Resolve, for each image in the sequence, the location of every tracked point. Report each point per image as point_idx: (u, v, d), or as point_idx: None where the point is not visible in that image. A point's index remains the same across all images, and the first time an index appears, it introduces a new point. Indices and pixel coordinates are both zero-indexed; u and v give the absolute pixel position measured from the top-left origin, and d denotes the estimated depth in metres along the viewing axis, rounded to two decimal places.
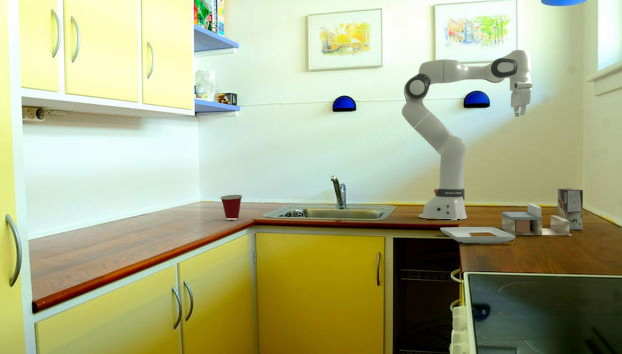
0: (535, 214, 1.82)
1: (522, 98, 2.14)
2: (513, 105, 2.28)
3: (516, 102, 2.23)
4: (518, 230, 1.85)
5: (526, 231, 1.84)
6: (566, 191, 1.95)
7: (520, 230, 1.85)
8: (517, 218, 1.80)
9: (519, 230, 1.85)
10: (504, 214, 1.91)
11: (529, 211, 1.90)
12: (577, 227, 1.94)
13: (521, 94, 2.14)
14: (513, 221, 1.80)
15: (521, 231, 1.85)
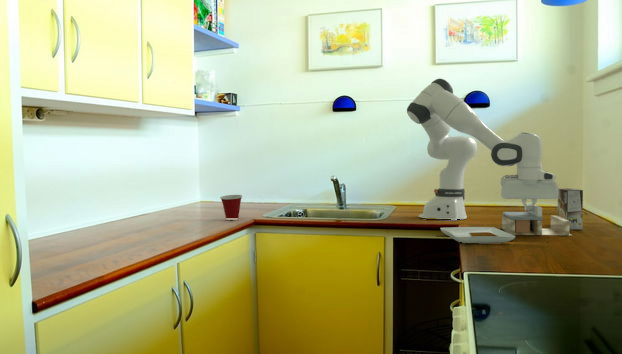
0: (536, 214, 1.82)
1: None
2: (519, 197, 1.84)
3: (534, 195, 1.83)
4: (518, 230, 1.85)
5: (526, 231, 1.84)
6: (566, 191, 1.95)
7: (520, 230, 1.85)
8: (518, 218, 1.80)
9: (519, 230, 1.85)
10: (505, 214, 1.91)
11: (530, 211, 1.90)
12: (577, 227, 1.94)
13: (557, 187, 1.82)
14: (513, 221, 1.80)
15: (521, 231, 1.85)
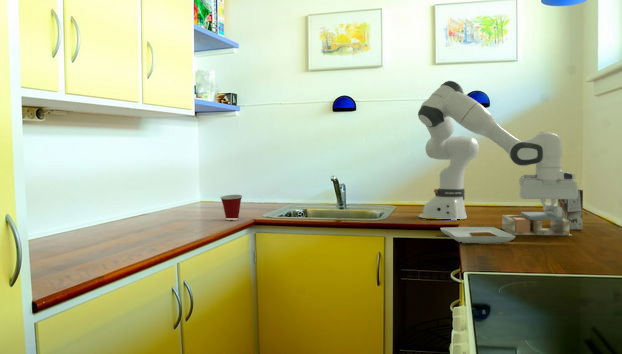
0: (555, 214, 1.81)
1: None
2: (538, 197, 1.83)
3: (553, 195, 1.82)
4: (518, 230, 1.85)
5: (526, 231, 1.84)
6: None
7: (520, 230, 1.85)
8: (537, 218, 1.79)
9: (519, 230, 1.85)
10: (523, 214, 1.89)
11: (548, 211, 1.88)
12: (577, 227, 1.94)
13: None
14: (513, 221, 1.80)
15: (521, 231, 1.85)
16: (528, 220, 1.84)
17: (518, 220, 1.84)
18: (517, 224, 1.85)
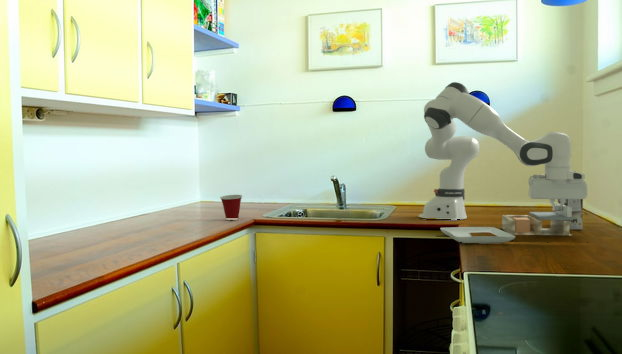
0: (565, 214, 1.80)
1: None
2: (547, 197, 1.83)
3: (562, 195, 1.82)
4: (518, 230, 1.85)
5: (526, 231, 1.84)
6: None
7: (520, 230, 1.85)
8: (547, 218, 1.78)
9: (519, 230, 1.85)
10: (532, 214, 1.89)
11: (558, 211, 1.88)
12: (577, 227, 1.94)
13: (586, 187, 1.80)
14: (513, 221, 1.80)
15: (521, 231, 1.85)
16: (528, 220, 1.84)
17: (518, 220, 1.84)
18: (517, 224, 1.85)
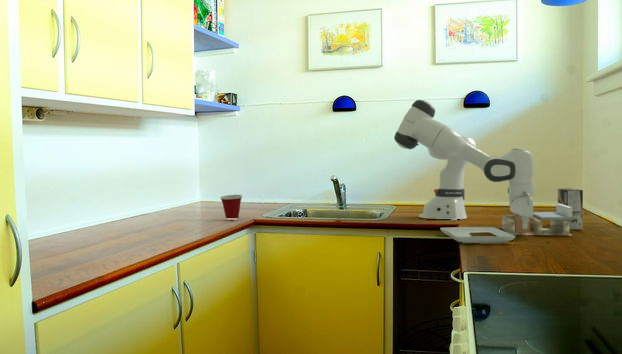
0: (566, 214, 1.80)
1: None
2: None
3: None
4: (518, 230, 1.85)
5: (526, 231, 1.84)
6: (566, 191, 1.95)
7: (520, 230, 1.85)
8: (548, 218, 1.78)
9: (519, 230, 1.85)
10: (533, 214, 1.89)
11: (558, 211, 1.88)
12: (577, 227, 1.94)
13: None
14: (513, 221, 1.80)
15: (521, 231, 1.85)
16: None
17: (518, 220, 1.84)
18: (517, 224, 1.85)
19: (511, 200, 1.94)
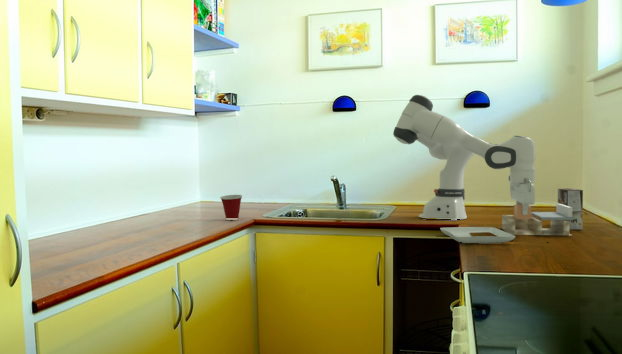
0: (566, 214, 1.80)
1: None
2: None
3: None
4: (520, 217, 1.85)
5: (527, 218, 1.84)
6: (566, 191, 1.95)
7: (521, 217, 1.84)
8: (548, 218, 1.78)
9: (520, 217, 1.84)
10: (533, 214, 1.89)
11: (558, 211, 1.88)
12: (577, 227, 1.94)
13: None
14: (513, 221, 1.80)
15: (522, 218, 1.84)
16: (529, 206, 1.84)
17: (519, 207, 1.84)
18: (518, 211, 1.84)
19: (512, 187, 1.94)
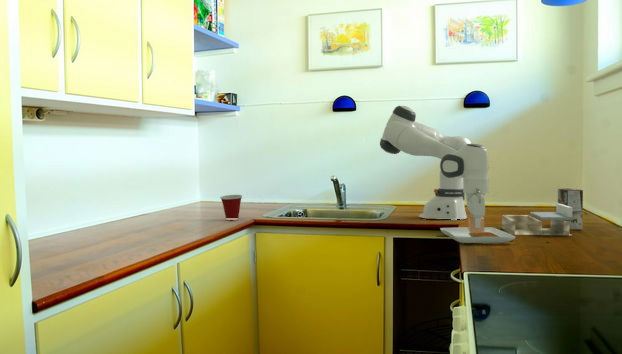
0: (566, 214, 1.80)
1: None
2: None
3: None
4: (472, 230, 1.76)
5: (480, 231, 1.75)
6: (566, 191, 1.95)
7: (474, 230, 1.76)
8: (548, 218, 1.78)
9: (473, 230, 1.76)
10: (533, 214, 1.89)
11: (558, 211, 1.88)
12: (577, 227, 1.94)
13: None
14: (513, 221, 1.80)
15: (475, 231, 1.76)
16: (482, 219, 1.75)
17: (472, 219, 1.76)
18: (471, 224, 1.76)
19: (468, 198, 1.85)
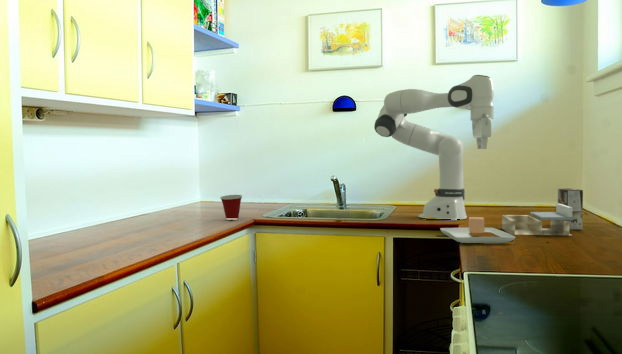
0: (566, 214, 1.80)
1: None
2: None
3: None
4: (472, 230, 1.76)
5: (480, 231, 1.75)
6: (566, 191, 1.95)
7: (474, 230, 1.76)
8: (548, 218, 1.78)
9: (473, 230, 1.76)
10: (533, 214, 1.89)
11: (558, 211, 1.88)
12: (577, 227, 1.94)
13: None
14: (513, 221, 1.80)
15: (475, 231, 1.76)
16: (482, 220, 1.75)
17: (472, 220, 1.76)
18: (471, 224, 1.76)
19: (473, 127, 2.04)
